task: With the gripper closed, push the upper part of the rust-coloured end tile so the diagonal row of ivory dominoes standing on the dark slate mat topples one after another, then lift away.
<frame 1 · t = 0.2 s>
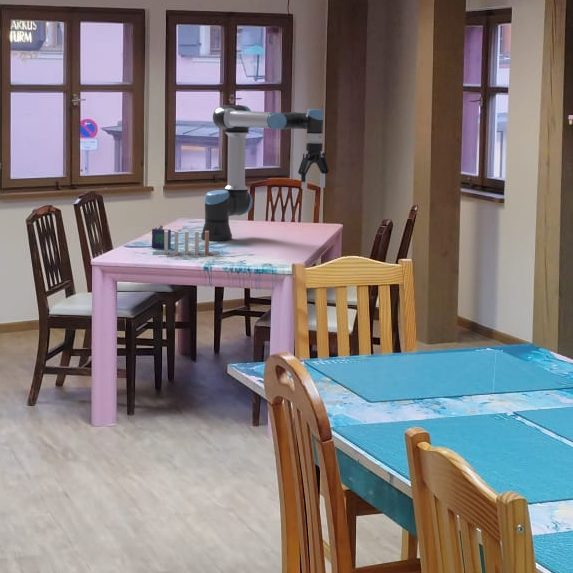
hand: (313, 188, 558), 28 cm above the table, fingers open, 13 cm apart
domino 4: (176, 253, 531), resting on mat
domino 5: (166, 253, 531), resting on mat
domino 2: (196, 253, 532), resting on mat
domino 1: (206, 253, 533), resting on mat
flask: (161, 248, 547), on the table
mat: (186, 254, 532), on the table
domino 3: (186, 253, 532), resting on mat
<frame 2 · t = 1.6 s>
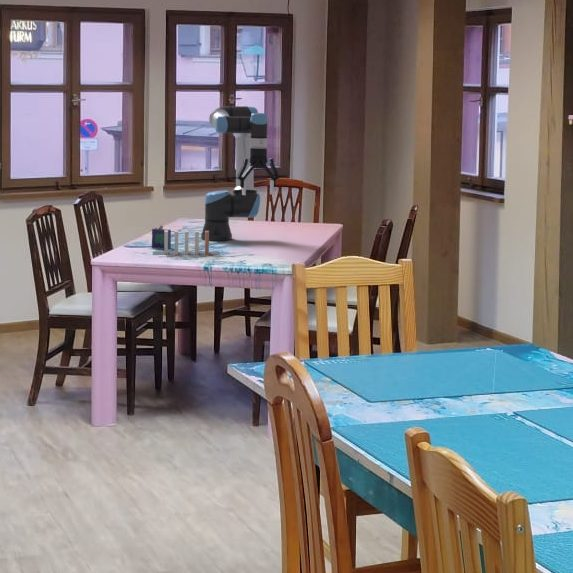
hand: (257, 194, 540), 26 cm above the table, fingers open, 13 cm apart
nothing on the table moved.
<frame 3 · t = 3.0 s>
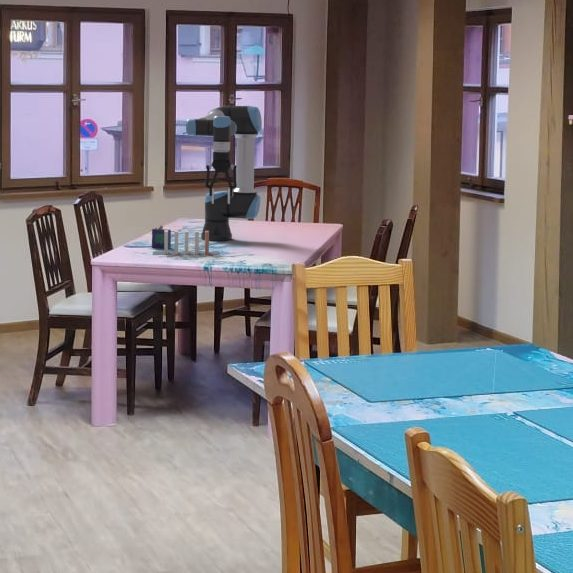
hand: (220, 203, 529), 23 cm above the table, fingers open, 6 cm apart
nothing on the table moved.
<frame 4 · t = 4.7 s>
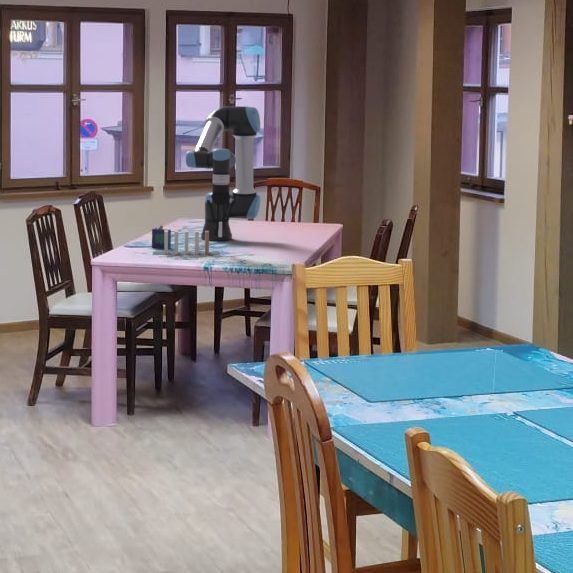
hand: (220, 236, 532), 8 cm above the table, fingers closed
nothing on the table moved.
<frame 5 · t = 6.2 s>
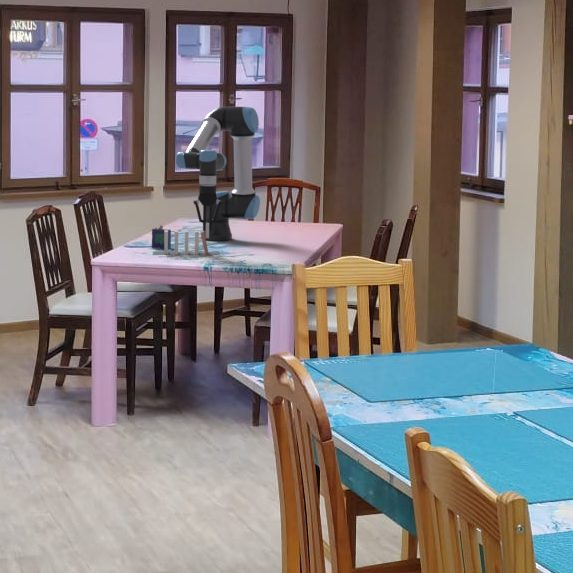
hand: (207, 237, 531), 7 cm above the table, fingers closed
domino 1: (206, 253, 533), resting on mat, tilted 13°
everything else where it was.
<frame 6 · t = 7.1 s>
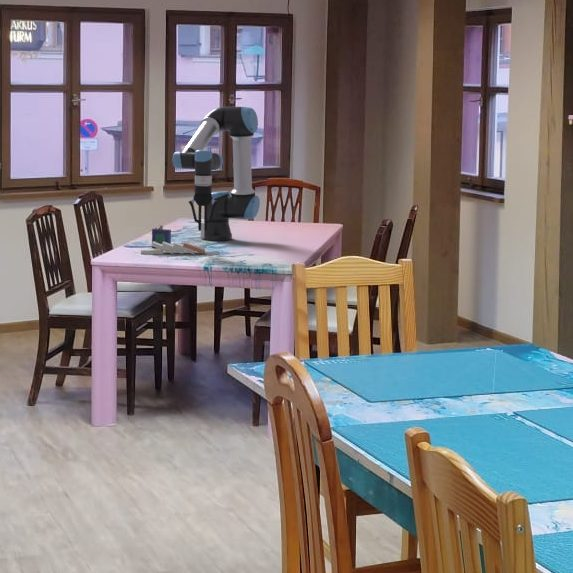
hand: (202, 237, 531), 7 cm above the table, fingers closed
domino 4: (173, 251, 531), point 1 cm above the table, tilted 69°, touching domino 3, domino 5
domino 5: (163, 251, 531), point 1 cm above the table, tilted 90°, touching domino 4, mat
domino 2: (194, 251, 532), point 1 cm above the table, tilted 70°, touching domino 1, domino 3, mat
domino 1: (204, 251, 532), point 1 cm above the table, tilted 70°, touching domino 2
domino 3: (183, 251, 531), point 1 cm above the table, tilted 69°, touching domino 2, domino 4, mat
everything else where it was.
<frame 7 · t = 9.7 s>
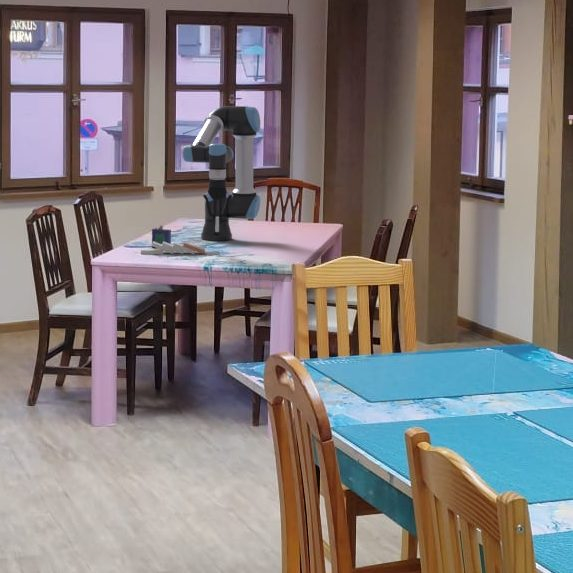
hand: (217, 231, 532), 10 cm above the table, fingers closed
nothing on the table moved.
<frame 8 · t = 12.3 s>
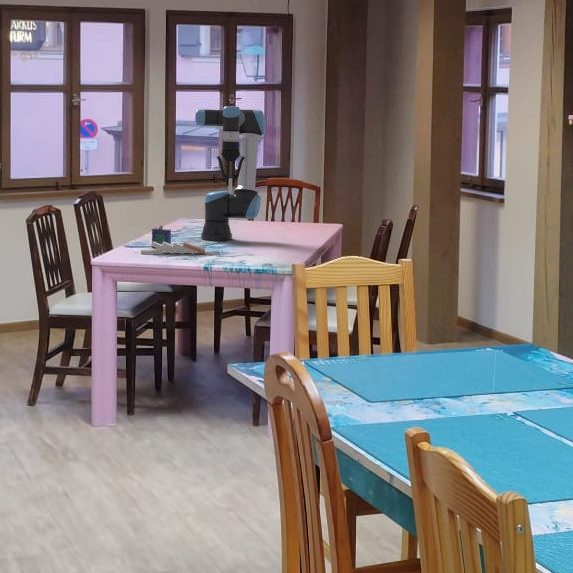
hand: (230, 192, 542), 26 cm above the table, fingers closed
nothing on the table moved.
at the end: domino 5 tilted 90°; domino 3 tilted 69° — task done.
